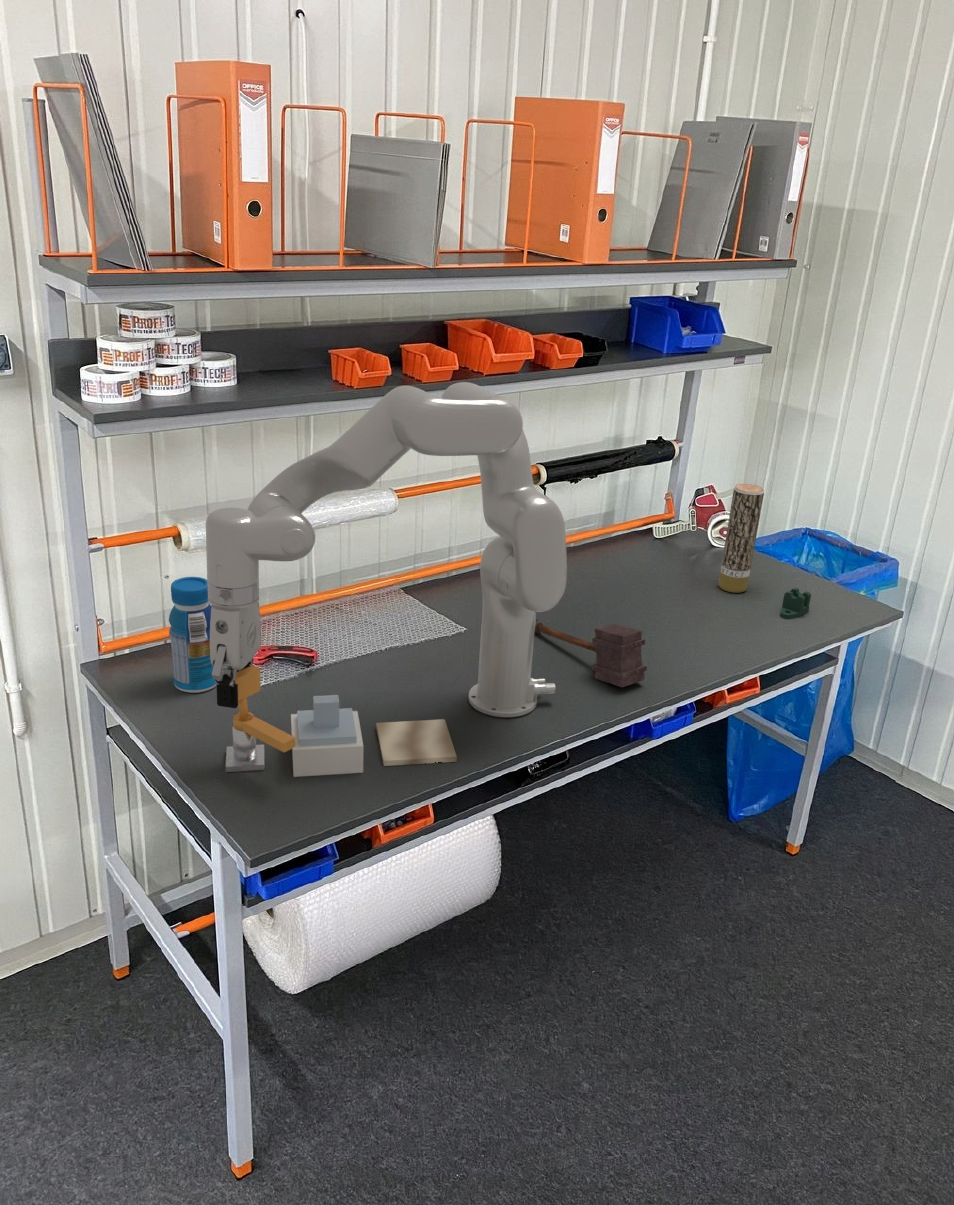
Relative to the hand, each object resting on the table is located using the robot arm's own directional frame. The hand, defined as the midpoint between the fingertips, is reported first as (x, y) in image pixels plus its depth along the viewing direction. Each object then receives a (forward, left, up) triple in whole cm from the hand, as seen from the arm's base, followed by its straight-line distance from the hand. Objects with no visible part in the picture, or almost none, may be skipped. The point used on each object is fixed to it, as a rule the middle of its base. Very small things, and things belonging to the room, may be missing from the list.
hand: (235, 695), depth 159 cm
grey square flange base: (-1, 0, -12) cm, 12 cm away
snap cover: (-14, 0, -7) cm, 16 cm away
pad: (-29, -2, -12) cm, 32 cm away
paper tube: (-114, -63, -12) cm, 131 cm away
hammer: (-66, -32, -12) cm, 74 cm away
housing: (-14, 0, -12) cm, 19 cm away
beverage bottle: (+8, -27, -12) cm, 31 cm away
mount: (-123, -49, -13) cm, 133 cm away
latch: (-4, +3, -5) cm, 8 cm away
